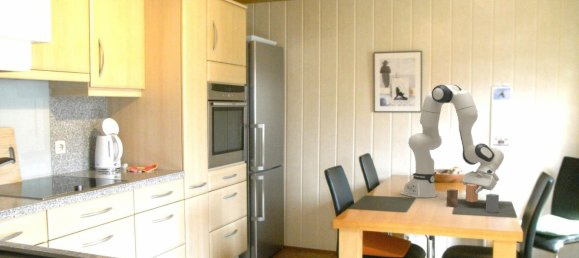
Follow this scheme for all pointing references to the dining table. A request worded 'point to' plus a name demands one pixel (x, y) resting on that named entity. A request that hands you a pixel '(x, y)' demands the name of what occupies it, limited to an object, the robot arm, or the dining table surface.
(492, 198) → the charcoal bar
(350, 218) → the dining table surface
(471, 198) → the terracotta bar
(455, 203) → the walnut bar
